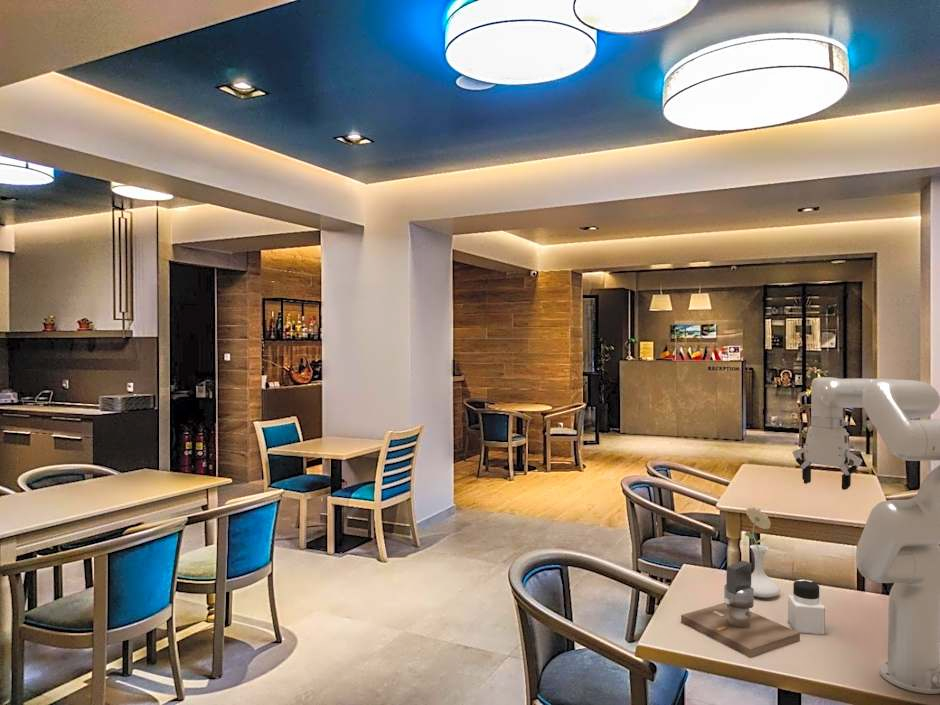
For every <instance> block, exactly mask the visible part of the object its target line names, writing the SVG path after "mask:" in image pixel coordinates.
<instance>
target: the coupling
mask: <svg viewBox="0 0 940 705" xmlns="http://www.w3.org/2000/svg"><path fill="white" fill-rule="evenodd" d="M751 574H752V562H749V561H747V560H741V561H738V562H736V563H733V564H730V565H727V566H726V584H724V589H723V590H724V597H723V598H724V600H723V601H724V602H723V603H725V604H727V605H728V606H731V607H734V608H739V609H749V610H750V609H751V608H753V607H754V602H755V600H754V597H755V596H754V589H753V588H752V587H751Z"/></svg>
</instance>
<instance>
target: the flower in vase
mask: <svg viewBox="0 0 940 705" xmlns="http://www.w3.org/2000/svg"><path fill="white" fill-rule="evenodd" d="M746 516H748V518H749V520H750V521H751V522H752V524H753V525H752V526H753V527H752V531H751V532H750V531H746V532H745V533H744V536H747V537H748V538H750V539H751V540H754V542H755V544H752V545H749V548H750V549H751V550H752V553H753V556H754V569H753V572H751V587H752V588H753V589H754V597H757V598H773V597H777V596H778V595H779V594H780V593H781V589H780V586H779V585H778V584H777V583H776V582H775V581H774V580H772V578H770V577H769V576H768V575H767V574H766V573H765V571H764V560H765V555H766V553H767V551H769V547H767V546H766V545H761V544H758V543H761V542H764V541H765V540H766V539H767V537H766V538H761V539H758V540H756V539H755V534H754V532H755V531H754V530H755V528H756V526H757V527H759V528H760V529H762V530H768V529H770V530H771V519H769V516H768V515H767V514H765V512H763V511H762V510H761V509H760V508H756V507H755V506H750V507H747V508H746Z"/></svg>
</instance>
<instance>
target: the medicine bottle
mask: <svg viewBox="0 0 940 705" xmlns="http://www.w3.org/2000/svg"><path fill="white" fill-rule="evenodd" d="M792 585H793V588H792V589H793V591H792V594H791V595H790V594H788V596H787V599H788V600H787V622H788V623H789V625H790V626H791V629H792V630H795V631H797V632H799V633H800V634H810V635H811V634H814V635H826V634H825V633H826V632H825V631H826V607H825V606H824V605H823V603H822V602H821V601H820V586H819V584H818V583H817V582H814V581H813V580H807V579H798V580H795V581H794V582H793V584H792Z"/></svg>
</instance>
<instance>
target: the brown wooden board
mask: <svg viewBox="0 0 940 705" xmlns="http://www.w3.org/2000/svg"><path fill="white" fill-rule="evenodd" d="M680 622H681V623H682V624H683V623H684V625H685V624H686V626H687V627H690V628H691V629H694V630H695V631H698V632H700V633H701V634H703V635H706V636H708V637H709V638H712V639H713V640H715V641H717V642H719V643H721V644H723V645H725V646H727V647H728V648H731V649H733V650H735V651H736V652H739V653H741V654H743V655H744V656H747V657H749V658H750V659H751V658H754V657H756V656H760V655H763V654H765V653H768V652H769V653H770V652H771V651H774V650H777V649H780V648H783V647H785V646H788V645H792V644H794V643H797V642H800V641H801V633H799V632H797V631H795V630H794V629H793V628H790V627H788V626H785V625H784V624H781V623H778V622H776V621H774V620H771V619H769V618H767V617H765V616H762V615H760V614H758V613H756V612H753V611H751V610H750V608H749V609H739V608H734V607H731V606H728V605H727V604H725V603H724V602H723V603H722V602H721V603H719V604H715V605H712V606H711V605H710V606H708V607H705V608H704V607H703V608H701V609H697V610H694V611H691V612H687V613H684V614H680Z"/></svg>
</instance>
